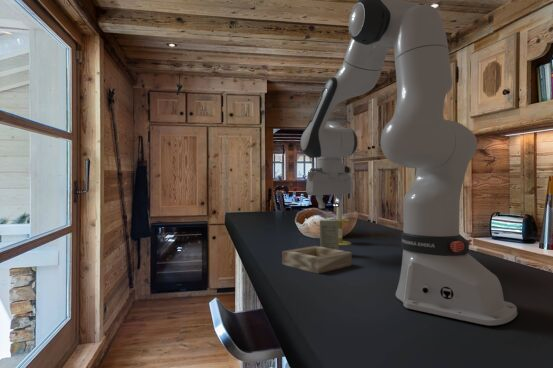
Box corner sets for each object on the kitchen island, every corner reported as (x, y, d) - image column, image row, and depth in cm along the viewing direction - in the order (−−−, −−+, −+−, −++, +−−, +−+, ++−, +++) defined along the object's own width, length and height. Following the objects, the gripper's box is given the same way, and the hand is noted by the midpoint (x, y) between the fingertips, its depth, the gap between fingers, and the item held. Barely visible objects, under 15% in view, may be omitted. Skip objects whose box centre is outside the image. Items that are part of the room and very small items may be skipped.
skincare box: (339, 253, 125) (339, 219, 125) (338, 256, 121) (338, 220, 121) (320, 253, 126) (320, 219, 126) (319, 255, 122) (319, 220, 122)
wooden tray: (351, 265, 107) (351, 252, 107) (317, 273, 97) (317, 259, 97) (315, 257, 119) (315, 245, 119) (282, 264, 109) (282, 251, 109)
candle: (323, 242, 149) (323, 178, 149) (344, 241, 152) (344, 178, 152) (333, 246, 140) (333, 178, 140) (356, 245, 143) (356, 178, 143)
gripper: (315, 167, 115) (315, 209, 114) (354, 168, 128) (354, 206, 128) (301, 168, 119) (302, 208, 119) (340, 169, 133) (340, 206, 133)
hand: (329, 207), depth 124 cm, fingers open, 7 cm apart
